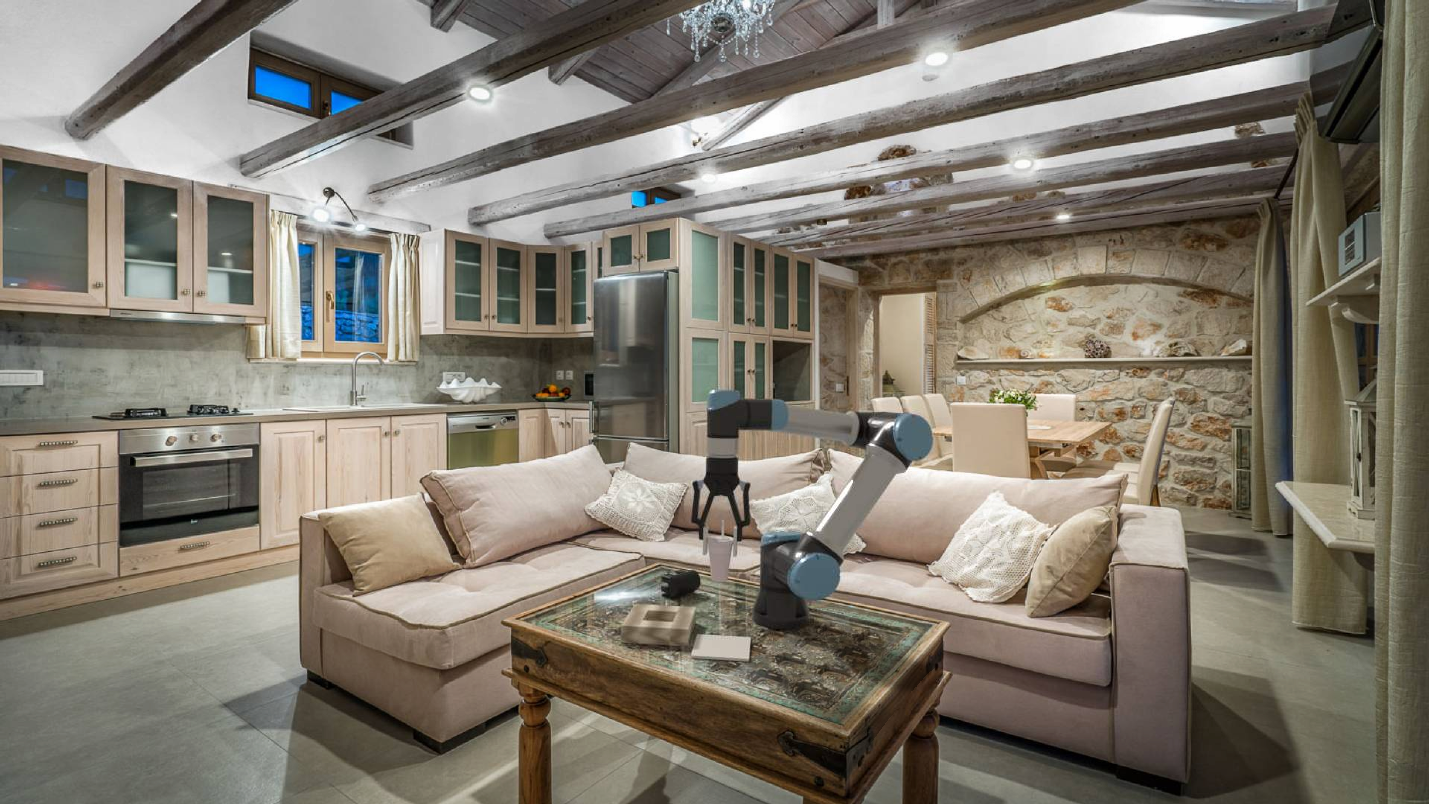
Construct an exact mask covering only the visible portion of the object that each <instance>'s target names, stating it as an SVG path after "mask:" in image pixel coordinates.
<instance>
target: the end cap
mask: <svg viewBox="0 0 1429 804" xmlns="http://www.w3.org/2000/svg"><path fill="white" fill-rule="evenodd" d="M660 581H661V582H662V583H665V584H667V586H665V585H660V591H661V592H662V593H661V597H663V598H666V599H669V600H673V599H677V598H680V597H683V596H686V595H689V594H692V593H695V592H696V591H697V590H699V589H700V587H701V584H702V582H701V577H700V574H699V572H698V571H696V570H695V569H691V570H683V569H679V570H676V571H675V574H672V573H670V572H668V573H664V574H662V575H661V580H660Z"/></svg>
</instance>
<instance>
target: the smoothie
mask: <svg viewBox="0 0 1429 804" xmlns="http://www.w3.org/2000/svg"><path fill="white" fill-rule="evenodd" d="M707 543H708V556H709V567H710V568H709V569H710V578H711V581H712V582H714V583H725V582H727V581H728V578H729V571H730V564H731V558H732V552H733V537H732V536H727V535H725V519H721V535H711V536H708V538H707Z"/></svg>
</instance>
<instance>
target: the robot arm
mask: <svg viewBox="0 0 1429 804" xmlns="http://www.w3.org/2000/svg"><path fill="white" fill-rule="evenodd" d="M706 404H707V405H706V443H705V444H706V446H705V449H706V450H705V451H706V452H705V454H706V455H708V456H706V458H705V474H704V475H705V476H704V477H703V478H702V479H695V480H694V481H692V483H691V484H692V488H693V497H692V499H693V500H692V509H691V518H690V522H691V523H692V524H695V525H696V526H698V540H699V541H702V556H707V554H708V553H709V548H708V543H707V538H708V537H709V525H708V524H706V522H707V518H708V516H709V513H710V510H711V507H712V505H713V501H714V499H715V497H721V496H722V497H727V500H728V503H729V506H730V508H731V512H732V514H733V518H734V521H735V525H734V526H733V533H732V534H733V537H732V538H733V544H732V558H733V557H734V558H736V557H737V556H738V542H740V543H741V542H742V540H743V529H744V527H748V526H750V524H751V509H750V490H751V482H749V481H743V480H741V479H740V477H739V458H738V457H737V456H738V455H739V451H740V450H739V445H740V443H739V442H740V441H739V440H740V439H739V438H740V431H766V432H773V433H780V434H785V435H786V434H787V435H795V436H803V437H807V438H808V437H809V438H815V439H823V440H829V441H830V440H831V441H835V442H836V441H837V442H841V444H843V446H846V447H852V448H857V449H861V450H864V451H866V456H865V457H864V459H863V460H862V462H861V463H860V464H859V466H858V467H857V469H856V470H855V471H854V472H853V474H852V476H851V477H850V479H849V480H848V482H847V483H846V484H845V486H844V487H843V488H842V489H841V492H840V493H839V494H838V496H837V497H836V499H835V500H834V501H833V503H832V504H831V505H830V507H829V508H828V510H827V511H826V512H825V514H824V516H823V517H822V518H821V520H820V521H819V523H817V525H816V527H815V528H814V529H813V530H807V531H804V532H798V531H797V532H796V531H773V532H766V533H764V534H763V535H762V536H761V540H760V545H759V548H760V557H759V559H760V561H759V590H758V593H757V595H756V599H755V601H754V604H753V607H752V610H751V611H752V612H751V613H752V615H751V618H752V621H754V622H755V623H757V625H760V626H762V627H766V628H771V629H776V630H777V629H778V630H795V629H799V628H800V629H801V628H803V627H802V626H804V627H805V625H806V626H808V625H809V624H810V621H809V620H811V619H810V617H811V616H810V614H811V613H810V609H809V606H808V602H807V600H808V601H814V602H815V601H821V600H824V599H826V598H828V597H829V596H831V595H832V594H833V593H834V592H835V591H836V589H837V588H838V586H839V584H840V583H841V582H840V581H841V576H840V575H841V568H840V567H841V566H842V564H843V563H844V561H845V557H844V550H845V549H846V547H847V546H848V545H849V543H850V541H851V540H852V539H853V537H854V536H855V534H856V533H857V532H858V530H859V528H860V527H861V526H862V524H863V523H864V522H865V520H866V518H867V517H868V516H869V514H870V513H871V511H872V510H873V509H874V506H876V504H877V503H878V501H879V499H880V498H881V497H882V495H883V494H884V492H885V491H886V489H887V488H888V487H889V485H890V484H891V483H892V481H893V479H894V478H895V477H896V475H898V474H900V475H901V474H904V473H906V472H907V470H908V468H910V467H911V464H912V463H913V462H919V461H922V460H923V459H925V458H926V457H928V455H929V454H930V453H931V450H932V448H933V444H934V436H933V431H932V427H931V425H930V423H929V422H928V421H927V420H926V419H925V418H924V416H923V417H922V416H921V415H919V414H915V413H911V412H908V411H907V412H894V411H893V412H891V411H871V412H870V411H864V412H863V411H855V410H854V411H853V410H849V411H847V412H846V413H843V412H838V411H837V412H834V411H830V410H824V409H816V408H809V407H802V406H796V405H791V404H787V403H786V401H784V400H782V399H775V398H745V397H741V393H740V391H739V390H737V389H736V390H735V389H733V390H731V389H712V390H710V391H708V395H707V403H706ZM704 485H705V486H706V488H707V489H708V492H709V494H708V496H707V500H706V502H705V504H704V505H705V506H704V507H703V510H702V513H701V516H700V518H699V510H700V500H701V490H702V489H703V487H704ZM738 486H739V487H740V490H741V491H742V503H743V517H744V518H743V520H742V517H741V513H740V510H739V507H738V503H737V501H736V500H737V499H736V498H735V497H736V496H735V493H734V491H735V490H736V489H737V487H738Z"/></svg>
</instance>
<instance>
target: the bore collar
mask: <svg viewBox="0 0 1429 804" xmlns="http://www.w3.org/2000/svg"><path fill="white" fill-rule="evenodd" d="M696 614H697V607H696V606H680V605H679V606H678V605H661V604H642V603H634V605H633V606H632V608H631V610H630V611H629V612H628V614H627V616H626V617H625V619H624V620H623V621H622V623H621V624H620V643H626V644H627V643H628V644H642V645H658V646H677V647H688V646H689V645H690V640H691V638H692V634H693V632H694V629H695V625H696V622H697V621H696V619H697V615H696Z"/></svg>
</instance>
